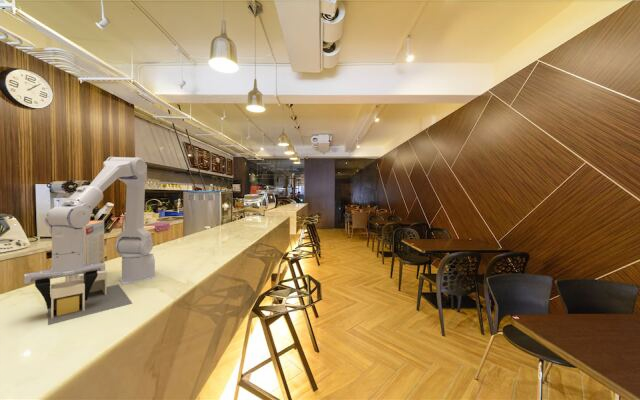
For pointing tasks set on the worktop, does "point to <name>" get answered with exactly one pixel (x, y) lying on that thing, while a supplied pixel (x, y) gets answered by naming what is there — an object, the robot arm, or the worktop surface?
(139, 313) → the worktop surface
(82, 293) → the box
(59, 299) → the cube
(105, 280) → the box
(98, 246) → the cracker box
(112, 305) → the mat
